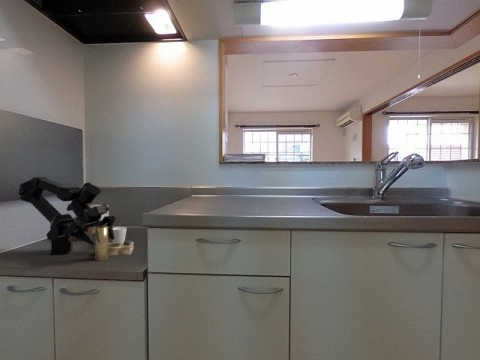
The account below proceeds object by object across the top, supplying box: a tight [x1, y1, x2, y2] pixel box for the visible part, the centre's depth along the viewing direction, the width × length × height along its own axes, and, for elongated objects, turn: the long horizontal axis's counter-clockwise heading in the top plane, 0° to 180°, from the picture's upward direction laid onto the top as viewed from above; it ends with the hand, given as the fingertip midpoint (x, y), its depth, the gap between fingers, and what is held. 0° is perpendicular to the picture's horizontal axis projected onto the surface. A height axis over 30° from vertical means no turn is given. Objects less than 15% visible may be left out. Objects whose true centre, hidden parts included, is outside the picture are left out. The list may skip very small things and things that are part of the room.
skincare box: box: [89, 204, 110, 235], centre depth 145 cm, size 8×7×16 cm
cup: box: [112, 226, 128, 243], centre depth 119 cm, size 7×10×8 cm
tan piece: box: [94, 226, 109, 261], centre depth 101 cm, size 4×4×12 cm
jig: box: [108, 240, 135, 257], centre depth 110 cm, size 12×9×4 cm
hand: (104, 241), depth 101 cm, fingers open, 9 cm apart
